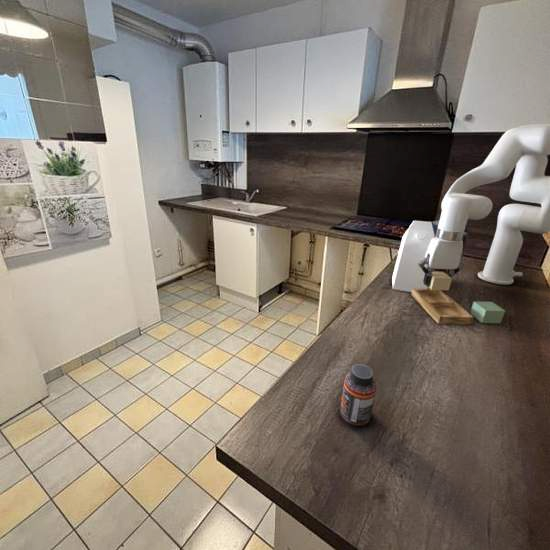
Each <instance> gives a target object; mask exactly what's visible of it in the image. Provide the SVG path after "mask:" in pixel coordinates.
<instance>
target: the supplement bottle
mask: <svg viewBox="0 0 550 550" xmlns="http://www.w3.org/2000/svg"><path fill="white" fill-rule="evenodd" d="M376 393H377V382H376V379H375V378H374V370H373V369H372V367H370V366H369V365H366V364H363V363H356V364H354V365H352V367H351V369H350V372H348V373H347V374H346V375H345V377H344V380H343V388H342V395H341V400H340V409H339V410H340V415H341V417H342V418H343V420H344V421H345V422H346V423H348V424H350V425H352V426H355V427H361V426H365V425H366V424H368V423H369V422H370V420H371V417H372V411H373V408H374V403H375V399H376Z"/></svg>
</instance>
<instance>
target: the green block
mask: <svg viewBox="0 0 550 550" xmlns="http://www.w3.org/2000/svg"><path fill="white" fill-rule="evenodd" d="M470 309H471V310H470V312H469V314H471V315H472V316H473V317H474V318H475V319H476V320H477V321H478V322H480V323H481V324H501V323H502V321H503V318H504V315H505V314H506V310H505V309H503V308H502V307H500V306H499V305H498V304H496V303H495V302H493V301H476V300H475V301H473V302H472V306H471V308H470Z"/></svg>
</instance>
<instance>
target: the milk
mask: <svg viewBox="0 0 550 550" xmlns="http://www.w3.org/2000/svg"><path fill="white" fill-rule="evenodd" d="M431 222H432V221H425V220H424V221H423V220H413V221H412V222H411V224H410V225H409V227H408V228H407V229H406V230H405V232H404V233H403V235H402V237H401V242H400V244H399V249H398V253H397V257H396V261H395V265H394V269H393V272H392V277H391V283H392V290H395V291H400V292H401V291H402V292H409V293H412V289H429V287H427V286H426V285H425V284H424V283H423V280H424V276H425V273H424V272H423V270H422V269H421V268H420V267H419V265H418V263H419V262H421V261H422V260H423V259H424V258H425V255H426V252H427V249H428V246H429V244H430V242H431V240H432V238H433V237H434V231H433V227H432V223H431ZM424 266H425V267H427V266H428V265H427V264H425V265H424Z"/></svg>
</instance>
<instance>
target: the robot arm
mask: <svg viewBox="0 0 550 550" xmlns="http://www.w3.org/2000/svg"><path fill="white" fill-rule="evenodd" d="M548 156H550V123H533V124H532V123H531V124H524V125H518V126H516V127H512V128H510V129H508V130H506V131H505V132H504V133H503V134H502V135H501V137H500V138H499V140H498V141H497V143H496V144H495V145H494V147H493V148H492V150H491V151H490V152H489V154H488V155H487V156H486V158H485V159H484V161H483V162H482V164H480V165H479V166H477V167H475V168H472V169H471V170H470V171H468V172H466V173H464V174H463V175H461V176H459V178H457V179H456V180H455V181H454V182H453V183H452V185H451V186H450V187H449V189H448V190H447V192H446V194H444V197H443V199H442V201H441V203H440V204H441V205H440V209H441V213H440V217H439V220H440V221H439V220H438V221H439V225H438V229H437V233H436V237H433V238H432V240H431V242H430V244H429V246H428V249H427V252H426V255H425V258H424V259H423V260H422V261H421V262H419V263H418V265H419V267H420V268H421V269H422V270H423V272H424V273H425V276H424V280H423V282H424V284H425V285H426V286H427V287H428V288H429V286H430V282H431V279H432V276H431V274H432V273H433V271H434V270H435V269H446V270H447V273H445V274H447V275H448V276H449V277H451V278H452V279H453V277H455V276H456V274H457V273H459V272H460V271H461V270H463V269H464V268H465V267H466V265H465V264H464V263H463V260H462V261H461V256H462V250H463V238H464V236H466V235H467V233H466V232H465V230H466V229H465V226H466V223H467V224H468V220H474V221H477V220H482V219H485V218H486V217H488V216H489V214H491V212H492V210H493V202H492V200H491V199H490V197H487V196H485V195H479V194H473V193H467V192H468V191H470V190H472V189H474V188H477V187H479V186H483V185H488V184H492V183H496V182H499V181H502V180H504V179H506V178H508V177H509V176H510V174H511V173H512V172H513V170H514V169H515V170H514V174H513V177H512V181H511V184H510V189H509V197H510V199H512V200H514V201H518V202H524V203H532V204H540V206H536V205H529V204H521V203H509V204H506V205H503V206H502V207H501V208H500V210H499V212H498V215H497V221H496V222H497V223H496V228H495V229H496V230H495V233H494V236H493V239H492V242H491V245H490V248H489V251H488V255H487V257H486V261H485V264H484V267H483V270H481V271H478V273H477V277H478V278H479V279H481V280H483V281H485V282H489V283H492V284H496V285H506V286H508V285H512V284H514V281H515V280H514V278H515V277H518V278H520V277H523V275H524V274H523V272H522V271H515V270H514V268H515V265H516V262H517V260H518V257H519V254H520V252H521V249H522V246H523V242H524V238H523V235H522V233H521V231H523V232H528V233H533V234H538V235H539V234H540V235H544V234H548V233H550V175H545V171H546V170H547V169H546V168H547V166H548V161H549V160H548ZM425 264H427V265H428V266H427V267H425V266H424V265H425Z"/></svg>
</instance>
